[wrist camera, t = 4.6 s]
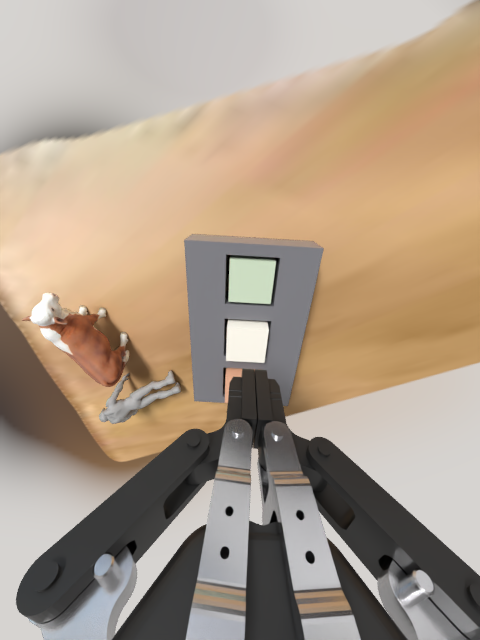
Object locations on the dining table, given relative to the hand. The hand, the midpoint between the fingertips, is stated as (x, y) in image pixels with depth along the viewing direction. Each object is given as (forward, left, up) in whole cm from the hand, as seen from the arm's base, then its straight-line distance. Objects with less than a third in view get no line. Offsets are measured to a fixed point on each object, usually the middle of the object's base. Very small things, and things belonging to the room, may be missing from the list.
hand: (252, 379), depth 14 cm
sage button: (0, -2, -16) cm, 16 cm away
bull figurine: (+20, +7, -17) cm, 27 cm away
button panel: (0, +6, -17) cm, 18 cm away
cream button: (0, +6, -15) cm, 16 cm away
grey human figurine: (+15, +18, -17) cm, 30 cm away
